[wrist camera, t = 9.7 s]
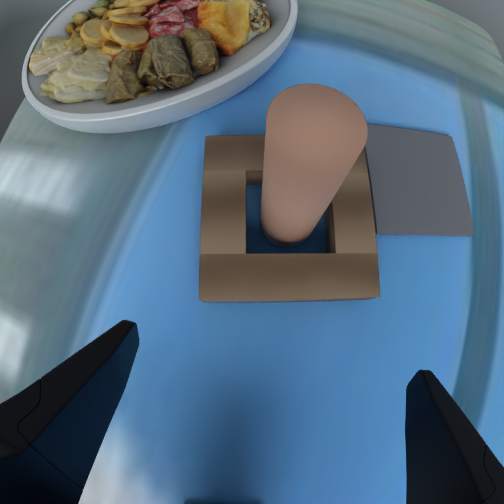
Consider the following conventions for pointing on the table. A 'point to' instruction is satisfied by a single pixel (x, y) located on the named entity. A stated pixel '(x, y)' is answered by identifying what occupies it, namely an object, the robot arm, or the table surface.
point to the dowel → (306, 158)
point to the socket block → (281, 265)
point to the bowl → (150, 59)
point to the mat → (416, 183)
